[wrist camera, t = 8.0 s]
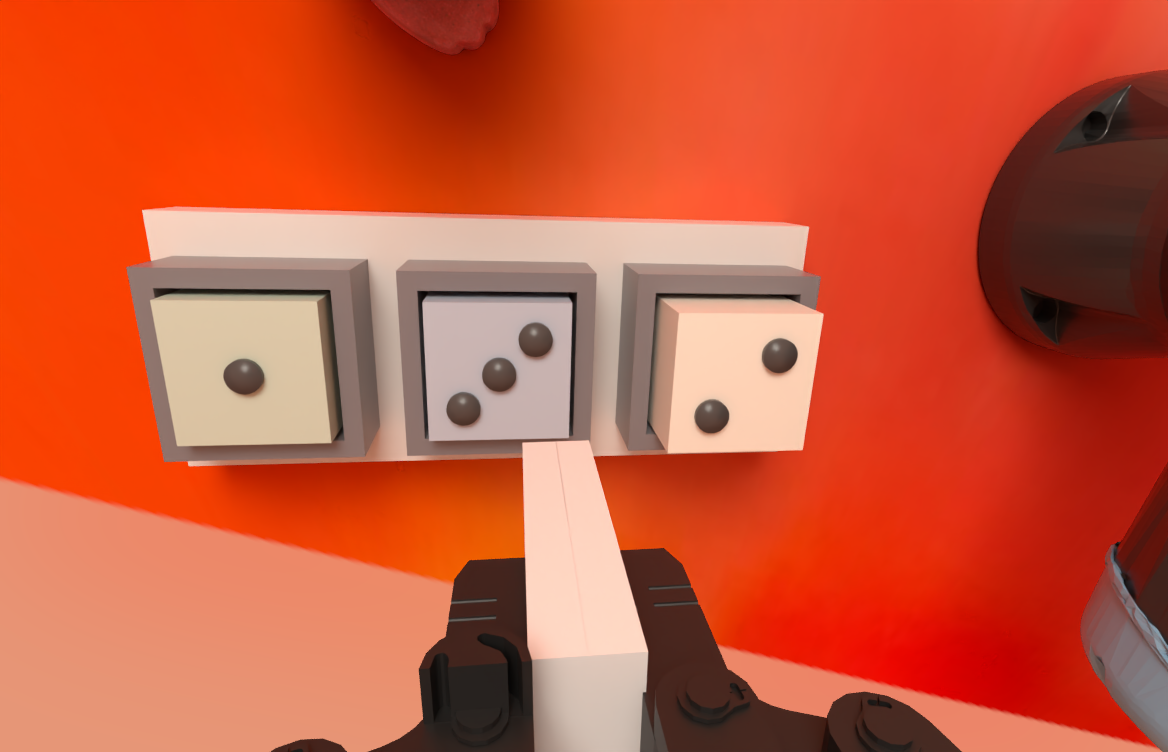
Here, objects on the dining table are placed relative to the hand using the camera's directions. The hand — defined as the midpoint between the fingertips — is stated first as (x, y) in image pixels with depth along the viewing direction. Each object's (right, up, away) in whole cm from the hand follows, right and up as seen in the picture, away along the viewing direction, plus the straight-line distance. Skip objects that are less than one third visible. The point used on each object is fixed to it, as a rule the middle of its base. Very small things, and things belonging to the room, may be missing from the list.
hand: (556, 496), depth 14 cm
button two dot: (+7, +4, +15) cm, 17 cm away
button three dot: (-3, +4, +15) cm, 16 cm away
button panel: (-4, +5, +19) cm, 20 cm away
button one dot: (-13, +4, +14) cm, 20 cm away
